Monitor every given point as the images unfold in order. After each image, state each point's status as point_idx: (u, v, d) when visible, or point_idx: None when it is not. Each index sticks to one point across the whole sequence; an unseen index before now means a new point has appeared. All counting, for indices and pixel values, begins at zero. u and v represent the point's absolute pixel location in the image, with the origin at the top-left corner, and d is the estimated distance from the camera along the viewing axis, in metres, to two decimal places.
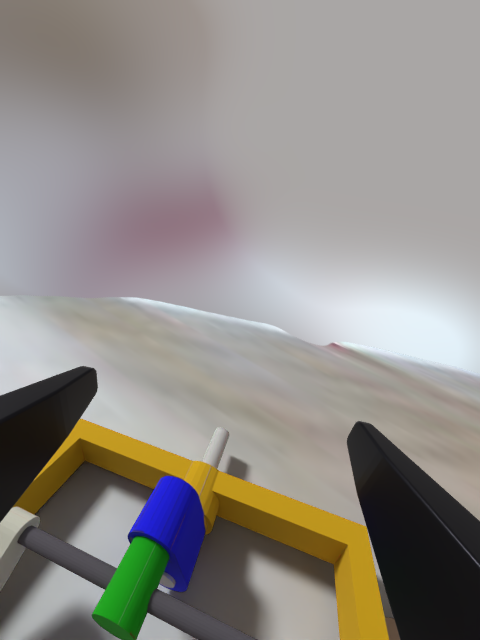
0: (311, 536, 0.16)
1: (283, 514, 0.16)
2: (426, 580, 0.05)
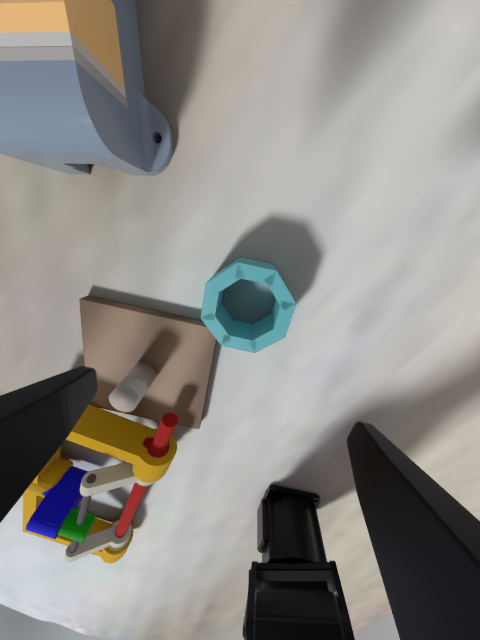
0: None
1: None
2: (426, 580, 0.05)
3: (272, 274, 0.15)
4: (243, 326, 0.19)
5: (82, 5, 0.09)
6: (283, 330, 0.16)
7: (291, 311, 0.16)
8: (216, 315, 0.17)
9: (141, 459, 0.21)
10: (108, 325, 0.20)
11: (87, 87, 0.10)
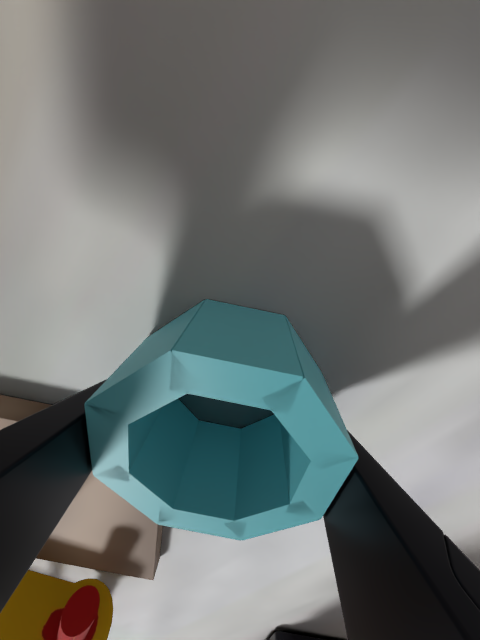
0: None
1: None
2: (367, 569, 0.05)
3: (289, 385, 0.04)
4: (218, 445, 0.09)
5: None
6: (316, 507, 0.06)
7: (342, 473, 0.05)
8: (138, 461, 0.06)
9: None
10: None
11: None
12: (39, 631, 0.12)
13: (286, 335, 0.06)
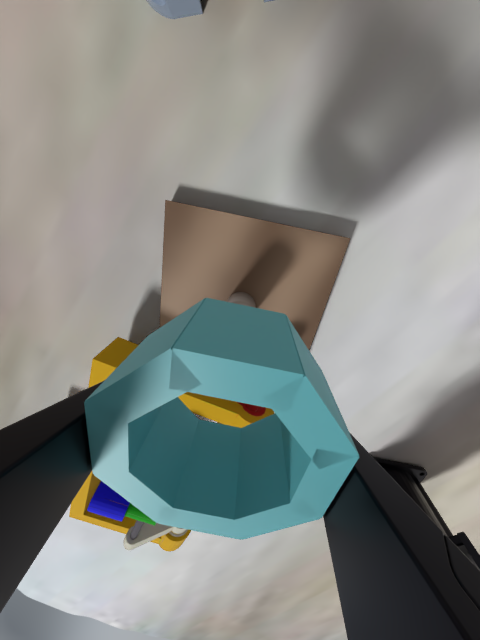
0: None
1: None
2: (368, 569, 0.05)
3: (289, 383, 0.04)
4: (218, 445, 0.09)
5: None
6: (316, 507, 0.06)
7: (343, 472, 0.05)
8: (138, 460, 0.06)
9: (240, 416, 0.16)
10: (200, 239, 0.15)
11: None
12: None
13: (286, 333, 0.06)
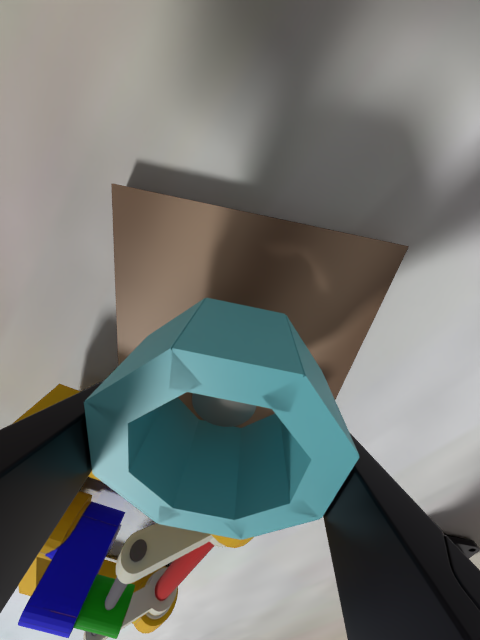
0: None
1: None
2: (368, 569, 0.05)
3: (289, 383, 0.04)
4: (218, 445, 0.09)
5: None
6: (316, 507, 0.06)
7: (343, 472, 0.05)
8: (138, 460, 0.06)
9: None
10: (170, 246, 0.10)
11: None
12: None
13: (286, 333, 0.06)
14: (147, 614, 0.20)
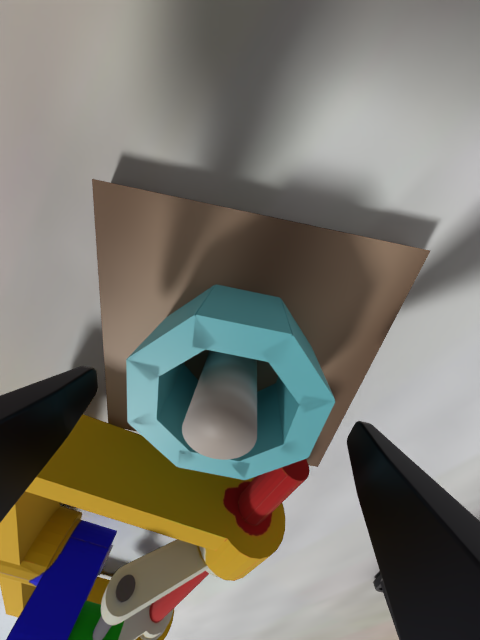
0: (30, 493, 0.11)
1: (11, 528, 0.11)
2: (426, 580, 0.05)
3: (281, 341, 0.06)
4: None
5: None
6: (304, 447, 0.08)
7: (324, 415, 0.07)
8: (163, 412, 0.08)
9: (231, 544, 0.10)
10: (160, 250, 0.08)
11: None
12: (221, 503, 0.11)
13: (280, 310, 0.08)
14: (141, 637, 0.19)
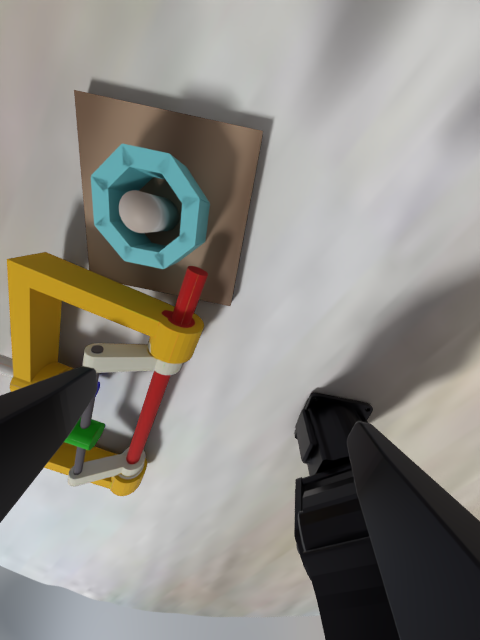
0: (38, 309, 0.17)
1: (26, 334, 0.18)
2: (426, 580, 0.05)
3: (165, 158, 0.12)
4: (159, 246, 0.16)
5: None
6: (191, 237, 0.14)
7: (196, 210, 0.13)
8: (114, 222, 0.14)
9: (161, 324, 0.16)
10: (114, 136, 0.15)
11: None
12: (160, 312, 0.17)
13: (177, 160, 0.14)
14: (120, 475, 0.25)
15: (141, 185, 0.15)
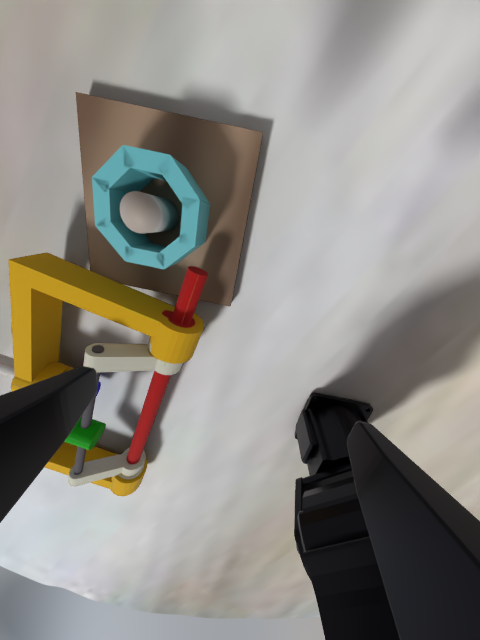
0: (39, 309, 0.18)
1: (27, 334, 0.18)
2: (426, 580, 0.05)
3: (165, 159, 0.12)
4: (160, 246, 0.17)
5: None
6: (191, 237, 0.14)
7: (196, 210, 0.13)
8: (115, 223, 0.14)
9: (162, 323, 0.16)
10: (115, 137, 0.15)
11: None
12: (160, 312, 0.17)
13: (177, 162, 0.14)
14: (120, 475, 0.25)
15: (142, 186, 0.16)
